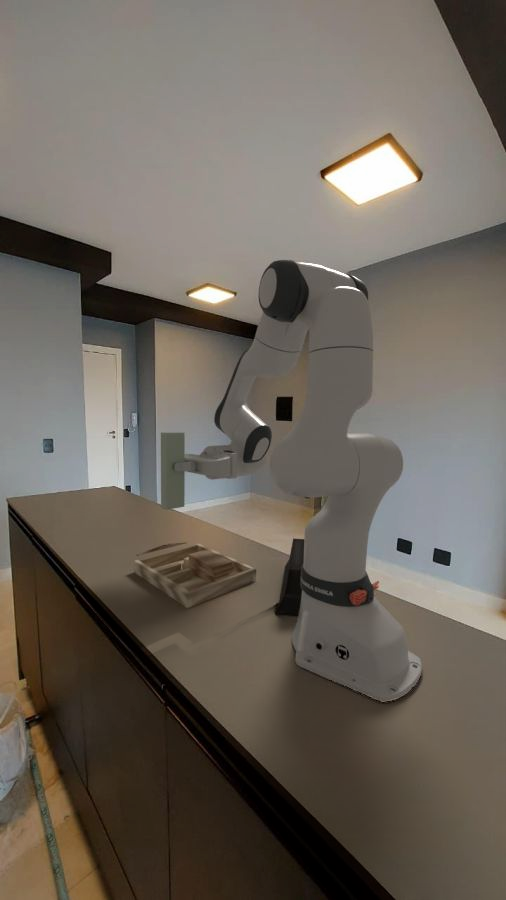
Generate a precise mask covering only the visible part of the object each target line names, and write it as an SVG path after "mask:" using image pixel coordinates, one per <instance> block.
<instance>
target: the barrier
mask: <svg viewBox="0 0 506 900" xmlns="http://www.w3.org/2000/svg"><path fill="white" fill-rule="evenodd" d="M303 564H304V538H295V537H294V538H292V543H291V549H290V553H289V559H288V560H287V562H286V563H285V565H284V572H283V576H282V583H281V589H280V594H279V600H278V602H277V603H276V604H275V610H274V615H277V616H286V617H295V618H296V617H297V618H298V615H299V610H300V604H301V595H302V589H301V586H300V578H301V567H302V565H303Z"/></svg>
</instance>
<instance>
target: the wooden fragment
mask: <svg viewBox="0 0 506 900" xmlns="http://www.w3.org/2000/svg"><path fill="white" fill-rule="evenodd" d="M184 544H186V542H175V543H167V544H161V545H159V546H156V547H154V548H152V549H149V550H148V549H147V550H146V551H144V552H141V553H137V554H136V556H142V555H146V554H149V553H154V552H158V551H161V550H165V549H169V548H173V547H177V546H181V545H184Z"/></svg>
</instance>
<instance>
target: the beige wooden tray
mask: <svg viewBox="0 0 506 900" xmlns="http://www.w3.org/2000/svg"><path fill="white" fill-rule="evenodd" d="M204 550H209V551H211V552H213V553H215V554H217V555H219V556H221V557H223V558H225V559H227V560H229V561H231V562H232V565H234V571H235V572H237V574H235V575H232V576H229V577H226V578H224V579H221V580H218V581H215V582H213V583H208V582H206V581H204V580H203V579H201V578H199V577H197V576H195V575H193V574H192V573H191V569H190V568H186V569H182V563H184V558H187V557H189V554H192V553H196V552H200V551H204ZM133 565H134V567H133V569H134V572H133V573H134V574H136V575H137V576H138V577H141V578H142V579H144V580H145V581H147V582H148V583H149V584H150V585H152V586H153V587H156V588H157V589H158V590H160V591H161V592H163V593H164V594H166V595H167V596H168V597H171V598H172V599H173V600H175V601H176V602H178V603H179V604H181V605H182V607H183V606H184V607H185V608H187V609H189V608H192V607H194V606H197V605H199V604H202V603H203V602H206V601H209V600H212V599H215V598H217V597H219V596H222V595H224V594H226V593H229V592H232V591H234V590H237V589H238V588H241V587H244V586H246V585H250V584H252V583H254V582H257V567H256V568H255V567H253V566H250V565H248V564H246V563H244V562H241V561H239V560H237V559H235V558H233V557H230V556H228V555H227V554H224V553H221V552H219V551H217V550H215V549H212V548H211V547H207V546H205V545H203V544H201V543H195V544H193V545H189V546H185V547H181V548H178V549H172V550H169V551H166V552H163V553H159V554H155V555H151V556H146V557H143V558H139V559H136V560H133Z"/></svg>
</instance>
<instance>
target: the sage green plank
mask: <svg viewBox="0 0 506 900" xmlns="http://www.w3.org/2000/svg"><path fill="white" fill-rule="evenodd" d="M185 435H186V434H185V432H182V431H180V432H179V431H176V432H175V431H173V432H168V431H167V432H160V509H163V510H165V511H167V510H173V509H178V508H183V507H185V495H186V494H185V485H186V484H185V482H186V481H185V474H186V473H185V472H186V471H174V470H173V469H172V467H173V466H172V464H173V463H185V454H186V453H185V452H186V451H185V447H186V446H185V444H186V443H185V442H186V441H185V437H186V436H185Z"/></svg>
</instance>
